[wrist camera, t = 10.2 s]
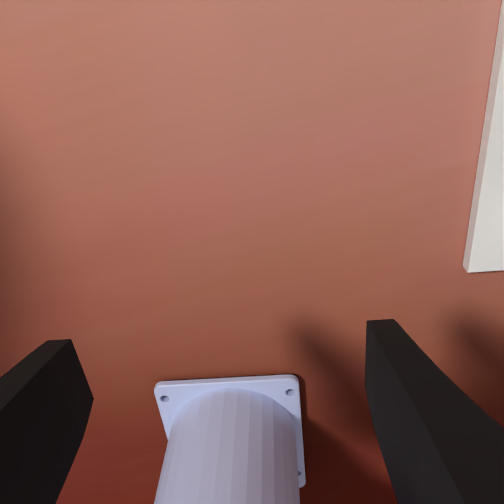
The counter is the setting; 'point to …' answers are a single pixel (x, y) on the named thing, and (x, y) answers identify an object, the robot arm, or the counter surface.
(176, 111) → the counter surface
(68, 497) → the counter surface
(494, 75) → the display stand
